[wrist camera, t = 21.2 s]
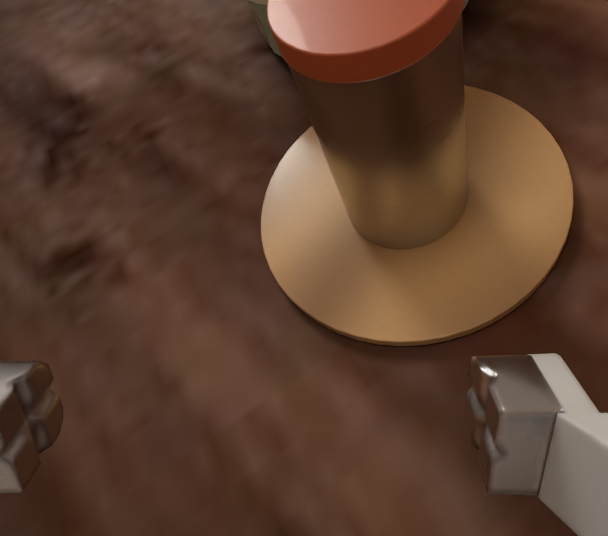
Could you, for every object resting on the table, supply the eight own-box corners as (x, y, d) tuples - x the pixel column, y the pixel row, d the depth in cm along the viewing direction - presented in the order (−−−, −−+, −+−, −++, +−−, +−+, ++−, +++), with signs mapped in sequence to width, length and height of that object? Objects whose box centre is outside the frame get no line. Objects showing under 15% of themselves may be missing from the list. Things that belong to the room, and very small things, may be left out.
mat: (214, 281, 27) (208, 276, 26) (341, 72, 31) (338, 64, 31) (503, 404, 20) (504, 400, 20) (614, 117, 25) (617, 108, 24)
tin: (325, 230, 26) (232, 41, 16) (376, 138, 27) (320, -84, 18) (440, 268, 23) (411, 68, 13) (488, 163, 25) (495, -82, 15)
